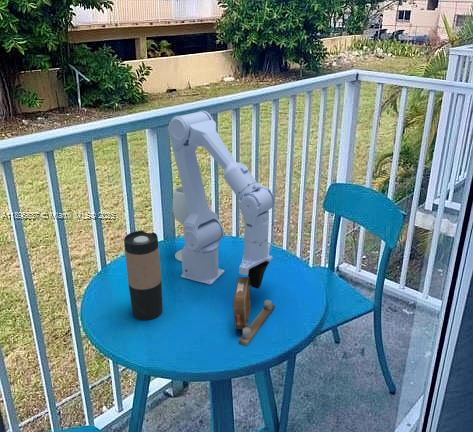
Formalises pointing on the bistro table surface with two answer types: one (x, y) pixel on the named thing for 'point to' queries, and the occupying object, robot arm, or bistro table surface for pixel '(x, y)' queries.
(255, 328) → the wooden rack with knobs
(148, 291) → the travel mug
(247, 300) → the tin
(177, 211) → the wineglass
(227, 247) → the bistro table surface
